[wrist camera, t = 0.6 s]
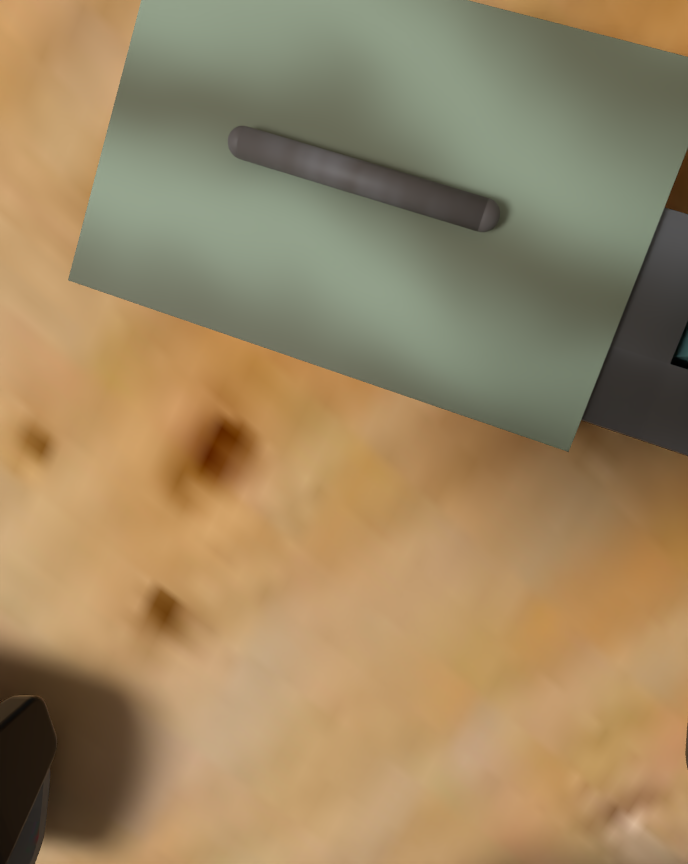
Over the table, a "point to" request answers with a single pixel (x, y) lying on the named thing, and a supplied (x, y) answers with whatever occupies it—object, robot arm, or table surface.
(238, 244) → the toolbox
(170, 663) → the table surface
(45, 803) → the bluetooth speaker
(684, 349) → the teal rectangular block
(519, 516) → the table surface
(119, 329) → the table surface
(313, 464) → the table surface
